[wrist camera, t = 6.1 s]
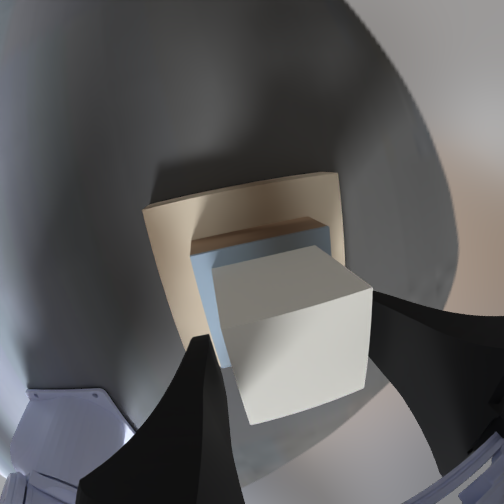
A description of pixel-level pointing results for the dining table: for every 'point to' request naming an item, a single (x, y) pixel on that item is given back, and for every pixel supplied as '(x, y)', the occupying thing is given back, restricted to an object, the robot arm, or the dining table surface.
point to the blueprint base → (229, 216)
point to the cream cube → (293, 330)
